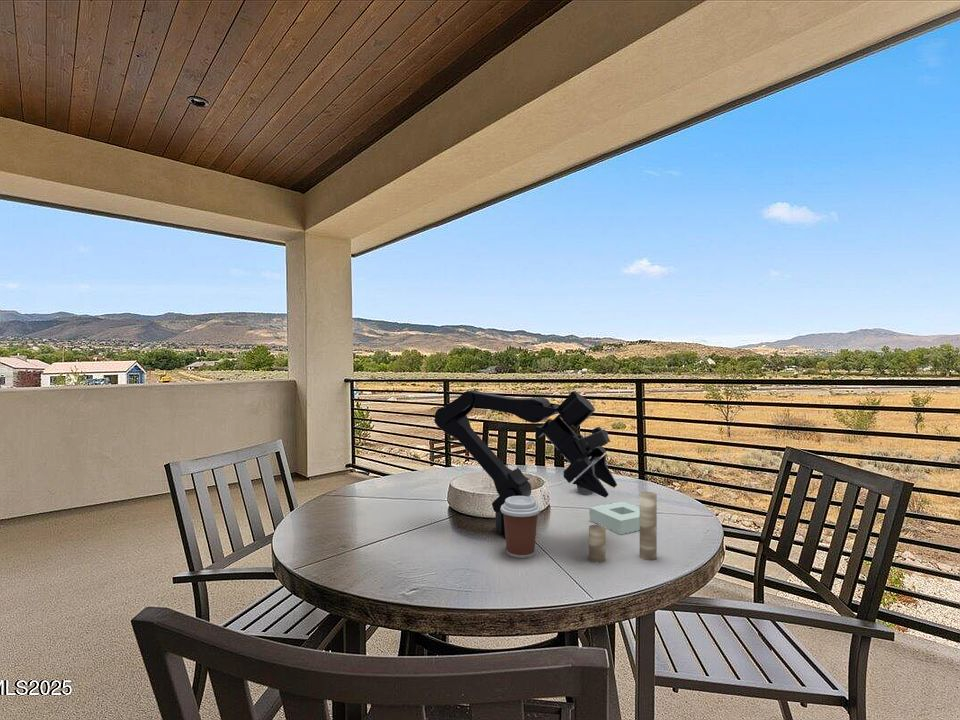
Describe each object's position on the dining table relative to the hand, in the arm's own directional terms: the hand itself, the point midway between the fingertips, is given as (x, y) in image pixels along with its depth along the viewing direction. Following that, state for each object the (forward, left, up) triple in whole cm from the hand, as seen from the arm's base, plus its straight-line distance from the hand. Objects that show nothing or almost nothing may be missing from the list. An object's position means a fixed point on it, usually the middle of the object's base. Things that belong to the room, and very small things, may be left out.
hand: (611, 491), depth 114 cm
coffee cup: (-19, +9, -14) cm, 25 cm away
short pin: (-6, -2, -14) cm, 15 cm away
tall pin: (+5, -6, -14) cm, 16 cm away
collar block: (+15, +13, -14) cm, 24 cm away
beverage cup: (+25, +41, -14) cm, 49 cm away
